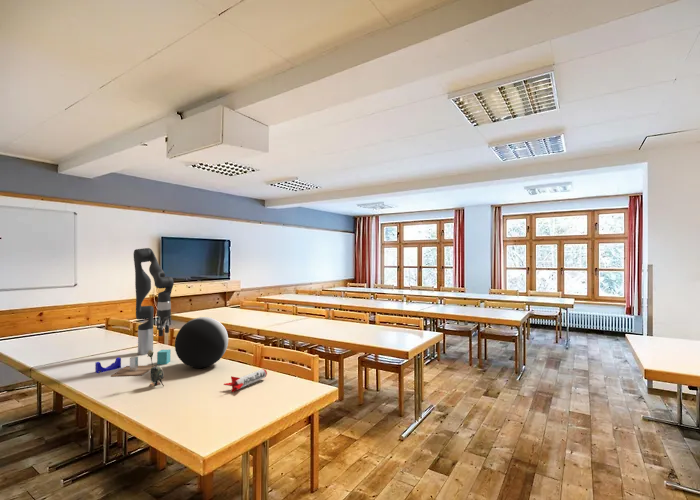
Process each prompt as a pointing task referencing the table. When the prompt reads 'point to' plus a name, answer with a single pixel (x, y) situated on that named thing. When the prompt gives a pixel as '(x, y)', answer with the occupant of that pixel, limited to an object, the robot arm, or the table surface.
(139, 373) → the walnut board
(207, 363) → the black ball
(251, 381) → the model rocket
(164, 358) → the aqua box
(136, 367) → the steel post
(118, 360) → the cable clip
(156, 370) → the plant with pod
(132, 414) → the table surface
